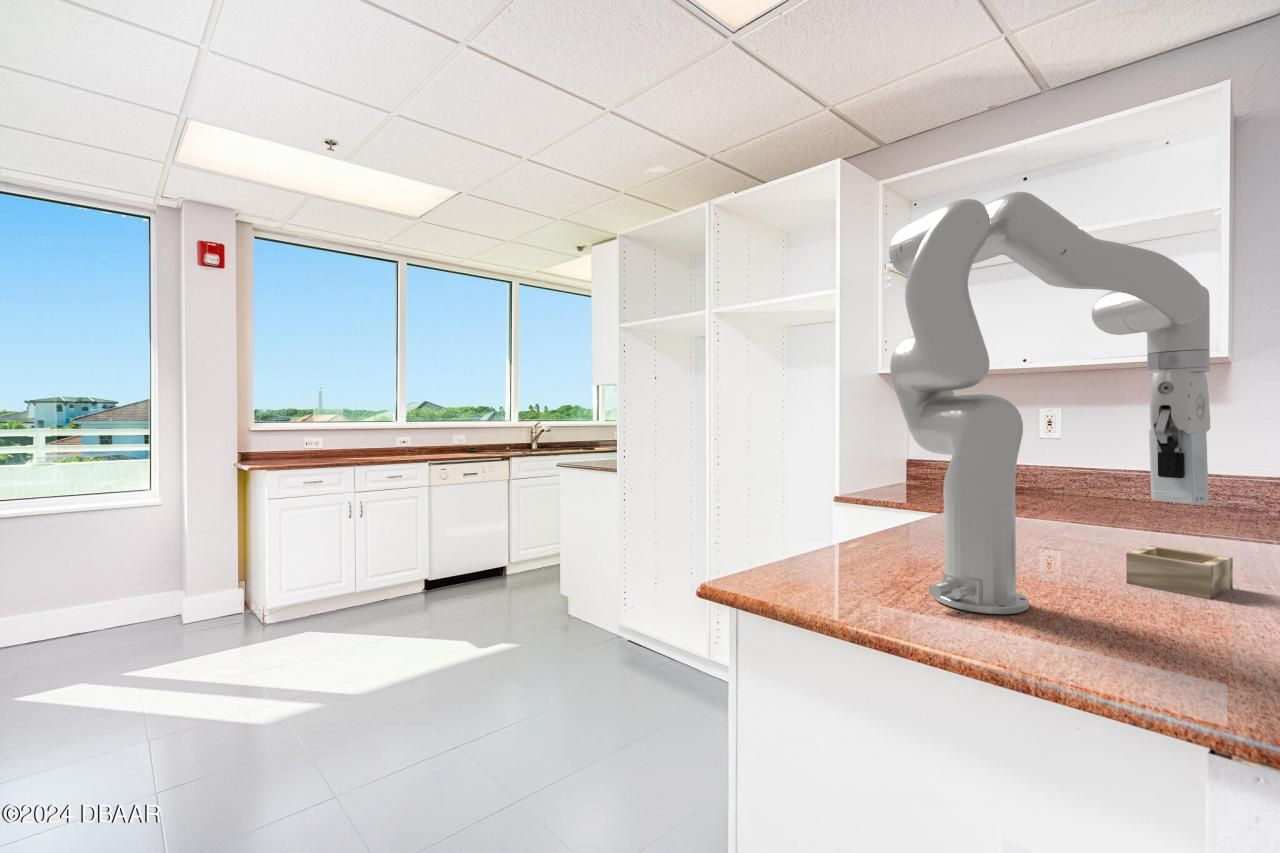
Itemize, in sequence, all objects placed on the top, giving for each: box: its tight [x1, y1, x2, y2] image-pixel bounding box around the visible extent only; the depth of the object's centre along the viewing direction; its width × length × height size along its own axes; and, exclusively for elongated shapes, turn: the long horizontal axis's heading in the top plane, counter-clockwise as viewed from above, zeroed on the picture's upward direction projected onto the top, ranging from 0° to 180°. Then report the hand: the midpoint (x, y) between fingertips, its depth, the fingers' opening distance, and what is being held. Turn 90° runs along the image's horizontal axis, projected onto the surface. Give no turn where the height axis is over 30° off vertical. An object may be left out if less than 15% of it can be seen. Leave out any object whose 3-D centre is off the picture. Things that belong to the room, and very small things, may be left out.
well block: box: [1125, 545, 1234, 600], centre depth 98 cm, size 10×10×5 cm
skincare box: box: [1148, 428, 1210, 506], centre depth 97 cm, size 6×4×12 cm
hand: (1178, 475), depth 97 cm, fingers closed on skincare box, 4 cm apart
